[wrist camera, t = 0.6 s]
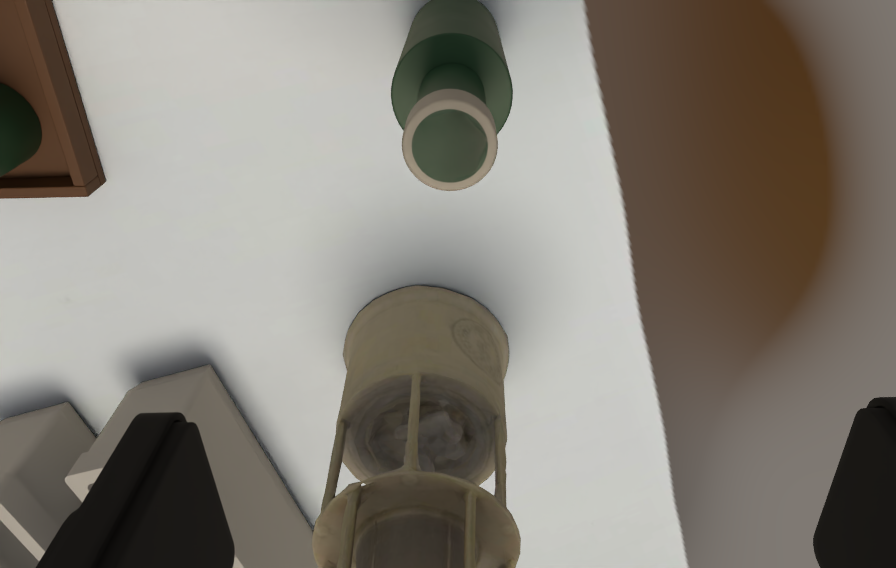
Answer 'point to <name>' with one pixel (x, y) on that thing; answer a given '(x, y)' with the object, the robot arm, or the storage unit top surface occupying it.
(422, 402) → the lamp
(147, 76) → the storage unit top surface
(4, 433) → the grey compartment organizer
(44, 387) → the storage unit top surface
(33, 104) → the tray
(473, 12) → the bottle
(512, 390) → the storage unit top surface
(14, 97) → the bottle end
